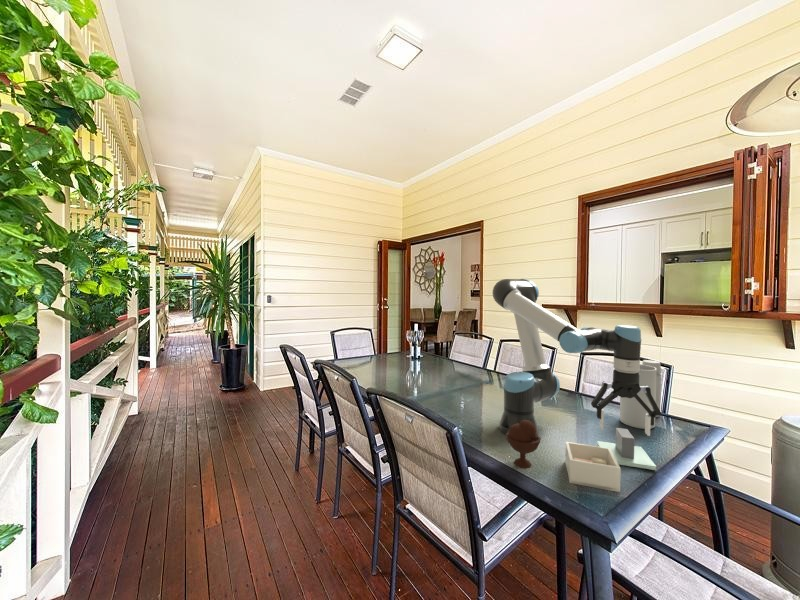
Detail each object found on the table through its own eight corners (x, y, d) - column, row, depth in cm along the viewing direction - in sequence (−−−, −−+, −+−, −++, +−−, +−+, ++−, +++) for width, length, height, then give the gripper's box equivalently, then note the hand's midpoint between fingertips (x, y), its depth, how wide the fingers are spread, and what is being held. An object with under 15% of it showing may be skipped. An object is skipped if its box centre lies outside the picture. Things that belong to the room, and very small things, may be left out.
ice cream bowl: (531, 455, 117) (531, 413, 117) (546, 472, 106) (546, 426, 105) (501, 455, 117) (501, 413, 116) (513, 473, 106) (513, 427, 105)
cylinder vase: (640, 431, 136) (641, 371, 136) (612, 419, 148) (614, 364, 148) (662, 427, 140) (663, 369, 139) (634, 416, 152) (635, 362, 151)
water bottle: (655, 412, 157) (656, 360, 156) (663, 418, 149) (665, 363, 149) (633, 410, 159) (634, 359, 159) (640, 416, 152) (641, 362, 151)
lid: (605, 464, 111) (606, 438, 111) (596, 446, 124) (597, 422, 124) (656, 472, 106) (656, 445, 106) (641, 452, 120) (641, 427, 119)
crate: (569, 482, 100) (570, 460, 100) (565, 461, 113) (565, 441, 112) (620, 492, 96) (620, 468, 96) (609, 469, 108) (610, 448, 108)
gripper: (587, 369, 115) (585, 429, 116) (675, 377, 106) (672, 441, 107) (583, 364, 122) (581, 421, 123) (666, 371, 113) (663, 432, 114)
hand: (623, 430), depth 115 cm, fingers open, 13 cm apart
